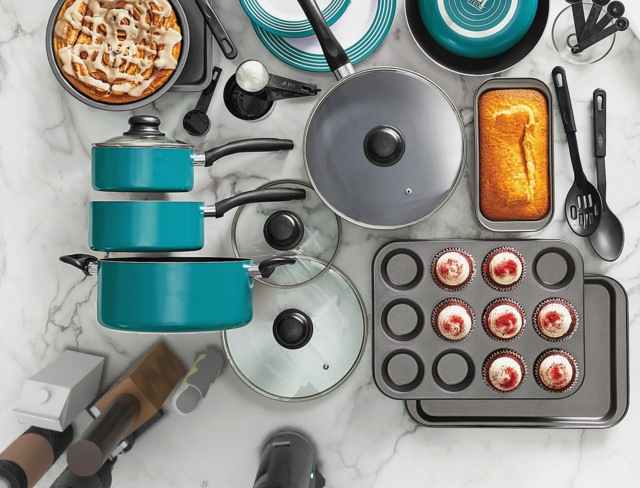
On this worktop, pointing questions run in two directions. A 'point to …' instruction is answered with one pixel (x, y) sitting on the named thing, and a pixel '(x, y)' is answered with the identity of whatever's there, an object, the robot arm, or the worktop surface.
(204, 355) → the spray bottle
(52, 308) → the worktop surface
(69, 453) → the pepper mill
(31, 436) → the travel mug
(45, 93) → the worktop surface
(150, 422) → the scale
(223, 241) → the worktop surface
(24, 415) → the milk carton
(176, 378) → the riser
